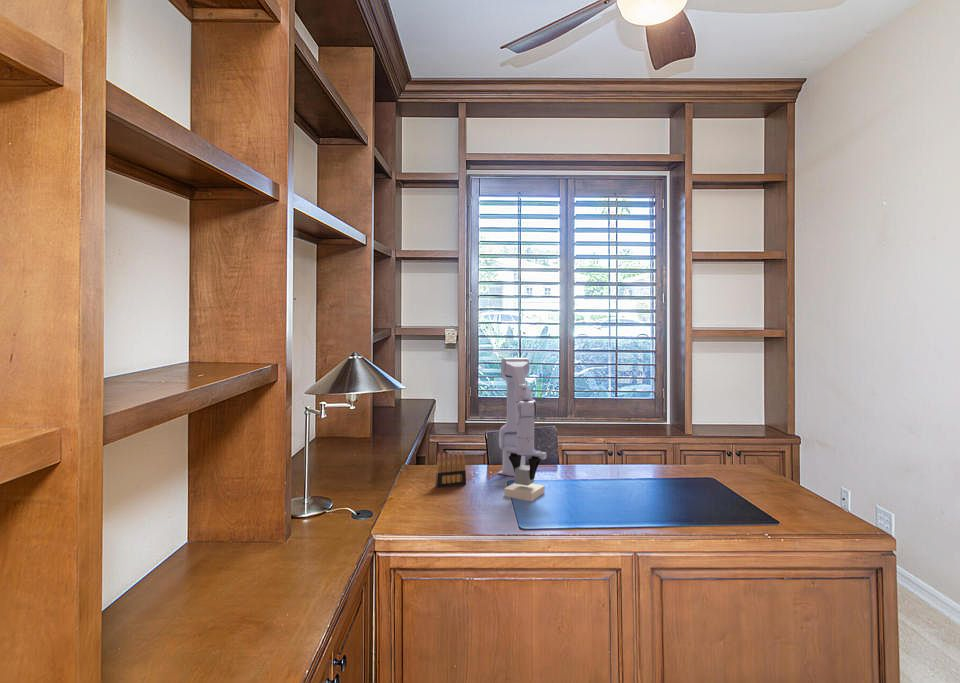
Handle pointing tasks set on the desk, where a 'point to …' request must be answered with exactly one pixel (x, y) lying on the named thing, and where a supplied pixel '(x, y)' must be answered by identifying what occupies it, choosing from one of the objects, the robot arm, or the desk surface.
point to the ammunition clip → (450, 470)
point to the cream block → (524, 491)
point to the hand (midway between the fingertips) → (524, 477)
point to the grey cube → (523, 475)
